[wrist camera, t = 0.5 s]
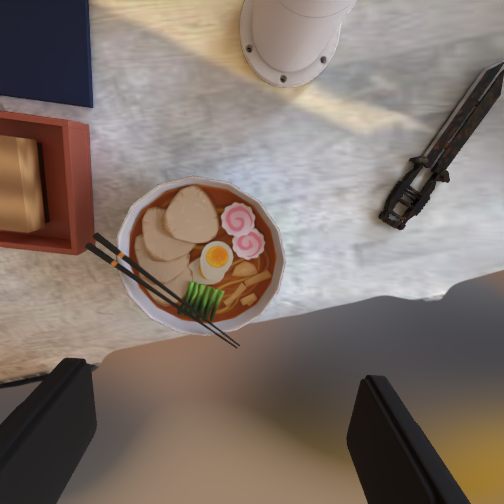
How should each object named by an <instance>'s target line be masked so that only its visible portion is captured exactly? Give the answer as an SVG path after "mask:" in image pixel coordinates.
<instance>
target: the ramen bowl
mask: <svg viewBox="0 0 504 504" xmlns="http://www.w3.org/2000/svg"><path fill="white" fill-rule="evenodd" d="M92 237H93V238H94V239H95V240H97V241H98V242H99V243H101V244H102V245H103V246H105V247H106V248H108V249H109V250H110V251H112V252H113V253H114V254H116V261H115V260H114V259H112V258H111V257H110V256H108V255H107V254H105V253H104V252H103V251H101V250H100V249H98V248H97V247H95V246H94V245H93V244H91V243H90V242H89V243H87V244H86V245H85V248H87V249H88V250H90V251H91V252H93V253H94V254H96V255H97V256H99V257H100V258H102V259H103V260H105V261H106V262H108V263H109V264H111V265H113V266H114V267H115V268H117V270H118V273H119V275H120V277H121V280H122V282H123V285H124V287H125V289H126V292H127V294H128V296H129V297H130V298H131V299H132V300H133V301H134V302H135V303H136V304H137V306H138V307H139V308H140V309H141V310H142V311H143V312H144V313H145V314H146V315H147V316H148V317H149V318H150V319H152V320H154V321H156V322H158V323H160V324H162V325H164V326H166V327H168V328H170V329H172V330H174V331H176V332H180V333H187V334H194V335H202V336H212V335H217V336H219V337H220V338H222V339H223V340H225V341H226V342H228V343H229V344H231V345H232V346H234V347H235V348H237V347H236V346H235V345H233V344H232V343H230V342H229V341H227V340H226V339H225V338H223V337H222V336H220V335H219V334H221V333H222V334H223V335H225V336H226V337H228V338H229V339H230V340H232V341H233V342H234V343H236V342H235V341H234V340H233V339H231V338H230V337H229V336H228V335H226V334H225V333H226V332H230V331H235V330H238V329H240V328H241V327H243V326H244V325H246V324H248V323H249V322H251V321H253V320H254V319H256V318H257V317H259V316H261V315H262V314H263V313H264V311H265V310H266V309H267V307H268V306H269V304H270V303H271V301H272V300H273V299H274V297H275V296H276V294H277V293H278V292H279V290H280V285H281V281H282V277H283V272H284V268H285V264H286V258H285V253H284V248H283V244H282V239H281V234H280V230H279V228H278V227H277V225H276V224H275V222H274V221H273V219H272V218H271V216H270V215H269V213H268V212H267V211H266V209H265V208H264V206H263V205H262V203H261V202H260V201H259V200H257V199H256V198H254V197H252V196H251V195H249V194H248V193H246V192H244V191H243V190H241V189H240V188H238V187H236V186H235V185H233V184H232V183H230V182H225V181H220V180H214V179H209V178H203V177H198V176H190V177H186V178H182V179H178V180H174V181H170V182H166V183H162V184H158V185H157V186H156V187H154V188H153V189H152V190H150V191H149V192H148V193H147V194H145V195H144V196H143V197H141V198H140V199H139V200H137V201H136V202H135V203H134V204H132V205H131V207H130V209H129V211H128V213H127V215H126V217H125V219H124V221H123V223H122V225H121V227H120V229H119V231H118V234H117V247H115V246H114V245H113V244H111V243H110V242H109V241H108V240H106V239H105V238H104V237H102V236H101V235H100V234H99V233H95V234H94V235H93V236H92ZM236 344H237V345H238V346H240V345H239V344H238V343H236Z"/></svg>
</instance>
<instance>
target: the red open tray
mask: <svg viewBox="0 0 504 504" xmlns="http://www.w3.org/2000/svg"><path fill="white" fill-rule="evenodd" d="M0 135H6V136H13V137H21V138H28V139H36V142H38V143H42V149H43V159H44V169H45V179H46V189H47V199H48V209H49V219H50V222H48V223H45V228H42V229H39V230H36V231H33V232H30V233H25V232H16V231H7V230H0V247H5V248H15V249H24V250H33V251H42V252H51V253H61V254H70V255H79V254H81V253H83V252H84V251H86V250H88V249H87V248H85V245H86V244H87V243H89V242H90V243H91V244H93V245H94V246H95V239H94V238H93V237H92V236H93V235H94V217H93V197H92V177H91V158H90V138H89V125H88V124H83V123H79V122H74V121H70V120H64V119H57V118H50V117H42V116H35V115H28V114H20V113H13V112H5V111H0Z"/></svg>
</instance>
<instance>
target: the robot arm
mask: <svg viewBox="0 0 504 504" xmlns="http://www.w3.org/2000/svg"><path fill="white" fill-rule="evenodd" d="M356 2H357V0H245V1H244V4H243V7H242V10H241V16H240V41H241V46H242V50H243V53H244V55H245V58H246V60H247V62H248V64H249V65H250V67H251V68H252V70H253V71H254V72H255V73H256V74H257V75H258V76H259V77H260V78H261V79H263V80H264V81H266V82H267V83H270V84H272V85H274V86H278V87H283V88H292V87H297V86H301V85H303V84H305V83H308V82H310V81H311V80H313V79H314V78H315V77H317V76H318V75H319V74H320V73H321V72H322V71H323V70H324V68H325V67H326V66H327V65H328V63H329V62H330V60H331V58H332V56H333V54H334V53H335V50H336V47H337V44H338V40H339V35H340V24H341V23H342V22H343V20H344V19H345V17H346V16H347V14H348V13H349V12H350V10H351V9H352V7H353V6H354V4H355V3H356ZM248 49H251V52H248V51H247V50H248ZM320 60H322V61H323V64H322V63H321V62H320ZM282 78H283V79H284V82H281V79H282ZM96 426H97V421H96V412H95V402H94V393H93V383H92V373H91V366H90V364H87V363H86V360H85V359H80V358H64V359H63V360H62V361H61V362H60V363H59V364H58V365H57V366H56V367H55V368H54V369H53V371H52V372H51V373H50V374H49V375H48V376H47V377H46V378H45V379H44V380H43V381H42V382H41V384H40V385H39V386H38V387H37V388H36V389H35V390H34V391H33V392H32V393H31V394H30V395H29V396H28V397H27V399H26V400H25V401H24V402H22V403H21V404H20V405H19V406H18V407H16V409H15V410H14V411H13V412H12V413H11V414H10V415H9V416H8V417H7V418H6V419H5V420H4V421H3V422H2V423H1V425H0V504H56V503H57V501H58V499H59V498H60V495H61V494H62V492H63V490H64V488H65V487H66V485H67V483H68V481H69V480H70V478H71V476H72V474H73V472H74V471H75V469H76V467H77V465H78V463H79V461H80V460H81V458H82V456H83V454H84V453H85V451H86V449H87V447H88V445H89V444H90V442H91V440H92V438H93V436H94V434H95V431H96ZM347 446H348V449H349V452H350V455H351V457H352V460H353V463H354V466H355V468H356V472H357V474H358V477H359V480H360V483H361V485H362V488H363V491H364V494H365V496H366V499H367V502H368V504H471V503H470V502H469V500H468V499H467V497H466V496H465V494H464V493H463V491H462V490H461V488H460V487H459V485H458V484H457V482H456V481H455V479H454V478H453V476H452V474H451V473H450V471H449V470H448V468H447V467H446V465H445V464H444V462H443V461H442V459H441V458H440V457H439V455H438V454H437V452H436V450H435V449H434V447H433V446H432V444H431V443H430V441H429V440H428V438H427V437H426V435H425V434H424V432H423V431H422V429H421V428H420V426H419V425H418V424H417V423H416V422H415V421H414V419H413V418H412V416H411V415H410V413H409V412H408V410H407V408H406V407H405V405H404V404H403V402H402V401H401V399H400V398H399V396H398V395H397V393H396V392H395V390H394V389H393V387H392V386H391V384H390V383H389V382H388V380H387V378H386V377H385V376H377V375H367V376H366V377H365V379H362V380H361V382H360V385H359V389H358V393H357V397H356V401H355V405H354V409H353V413H352V417H351V421H350V425H349V428H348V433H347Z"/></svg>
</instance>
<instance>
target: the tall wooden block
mask: <svg viewBox="0 0 504 504" xmlns="http://www.w3.org/2000/svg"><path fill="white" fill-rule="evenodd" d="M48 222H50V219H49V209H48V199H47V189H46V179H45V169H44V159H43V149H42V143H38V142H36V139H28V138H21V137H13V136H6V135H0V230H7V231H16V232H25V233H30V232H33V231H36V230H39V229H42V228H45V223H48Z"/></svg>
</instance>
